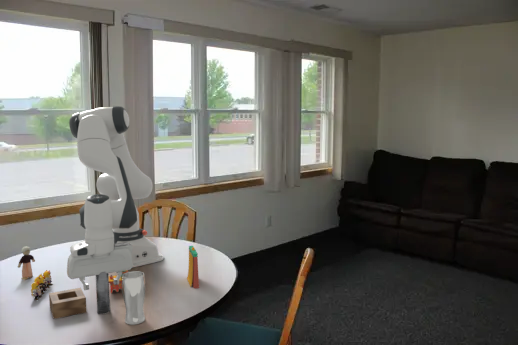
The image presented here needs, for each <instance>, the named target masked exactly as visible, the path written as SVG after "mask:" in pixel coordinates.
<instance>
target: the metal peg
mask: <svg viewBox="0 0 518 345" xmlns="http://www.w3.org/2000/svg"><path fill="white" fill-rule="evenodd" d="M109 274H110V273H106V271H105V272H101V273H100V274H99V275H95V290H96V312H97V314H101V315H103V314H105V315H106V314H107V313H110V312H111V299H110V283H109V276H110V275H109Z"/></svg>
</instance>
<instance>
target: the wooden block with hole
mask: <svg viewBox="0 0 518 345" xmlns="http://www.w3.org/2000/svg"><path fill="white" fill-rule="evenodd" d="M48 298H49V302H48V303H49V309H50V312H51V315H52V319H53V320H54V319H55V320H56V319H60V318H64V317H70V316H75V315H80V314H84V313H85V314H86V313H88V312H87V311H88V310H87V297H86V295H85V293H84V291H83V289H82V288H81V287H77V288H76V287H75V288H71V289H67V290H66V289H65V290H59V291H55V292H49V293H48Z"/></svg>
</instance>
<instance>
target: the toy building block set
mask: <svg viewBox="0 0 518 345" xmlns="http://www.w3.org/2000/svg"><path fill="white" fill-rule="evenodd" d="M198 258H199V256H198V252H197V250H196V249H195V247H194V245H188V269H187V270H188V271H187V278H186V280H187V282H188V284H189V287H190V288H193V289H199V288H200V281H199V280H200V278H199V262H198ZM127 272H129V270H125V271H122V275H123V274H124V273H127ZM122 275H121V277H120V279H119V284H118V285H114V283H113V282H114V281H113V279H114V278H116V276H117V275H113V274H111V275H109V292H110V294H113V291H114V290H115V292H116V293H119V291H120V290H122Z"/></svg>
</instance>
